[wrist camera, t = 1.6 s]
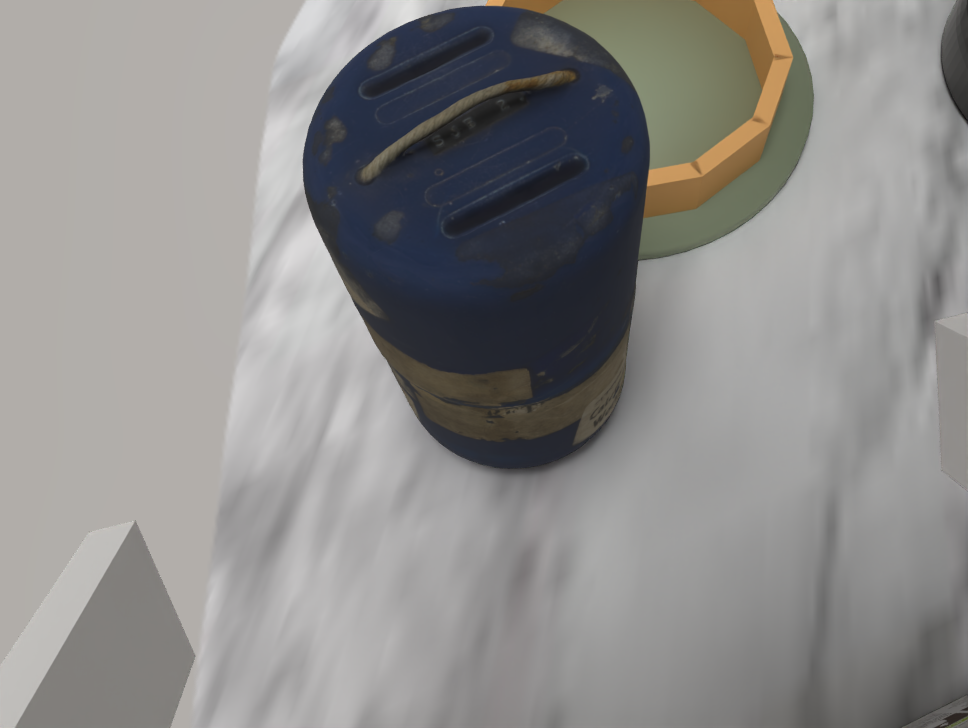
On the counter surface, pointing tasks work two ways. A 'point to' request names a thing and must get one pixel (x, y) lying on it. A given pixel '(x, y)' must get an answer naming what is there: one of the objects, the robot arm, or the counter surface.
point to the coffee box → (945, 716)
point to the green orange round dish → (703, 106)
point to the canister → (488, 223)
